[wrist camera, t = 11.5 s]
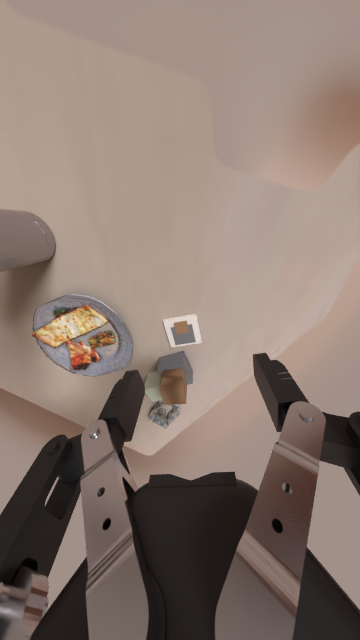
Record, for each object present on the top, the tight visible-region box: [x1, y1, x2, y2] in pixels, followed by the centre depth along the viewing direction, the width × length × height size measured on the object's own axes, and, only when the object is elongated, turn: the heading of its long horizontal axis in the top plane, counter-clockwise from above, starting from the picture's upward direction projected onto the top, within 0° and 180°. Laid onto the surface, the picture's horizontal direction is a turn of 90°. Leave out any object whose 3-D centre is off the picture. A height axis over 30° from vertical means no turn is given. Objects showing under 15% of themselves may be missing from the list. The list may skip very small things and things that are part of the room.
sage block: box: [144, 371, 162, 402], centre depth 49 cm, size 5×5×6 cm
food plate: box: [32, 293, 133, 377], centre depth 45 cm, size 25×23×4 cm
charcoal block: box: [157, 351, 193, 384], centre depth 47 cm, size 7×7×5 cm
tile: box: [163, 314, 202, 347], centre depth 43 cm, size 8×8×1 cm
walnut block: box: [159, 368, 187, 405], centre depth 42 cm, size 5×5×6 cm
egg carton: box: [148, 399, 180, 428], centre depth 56 cm, size 11×8×4 cm
